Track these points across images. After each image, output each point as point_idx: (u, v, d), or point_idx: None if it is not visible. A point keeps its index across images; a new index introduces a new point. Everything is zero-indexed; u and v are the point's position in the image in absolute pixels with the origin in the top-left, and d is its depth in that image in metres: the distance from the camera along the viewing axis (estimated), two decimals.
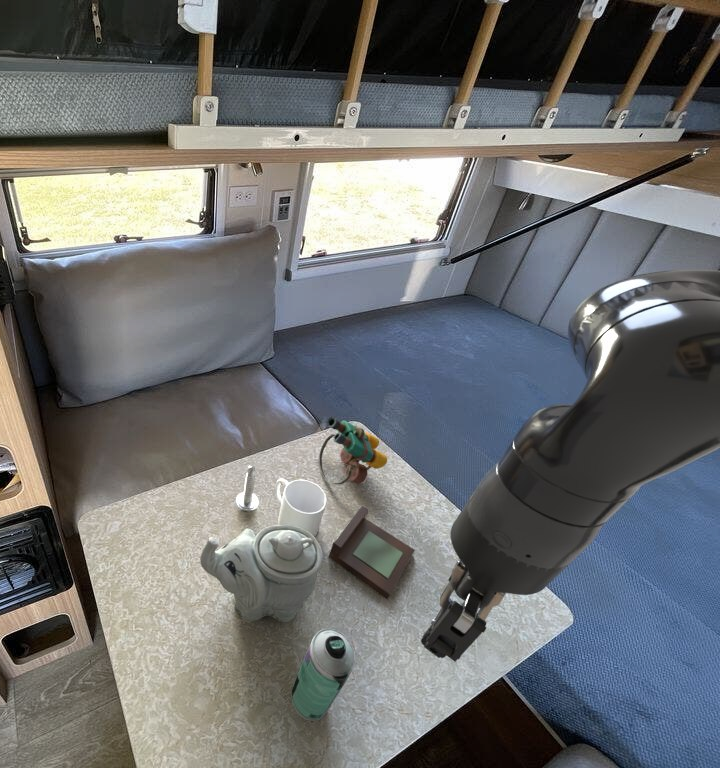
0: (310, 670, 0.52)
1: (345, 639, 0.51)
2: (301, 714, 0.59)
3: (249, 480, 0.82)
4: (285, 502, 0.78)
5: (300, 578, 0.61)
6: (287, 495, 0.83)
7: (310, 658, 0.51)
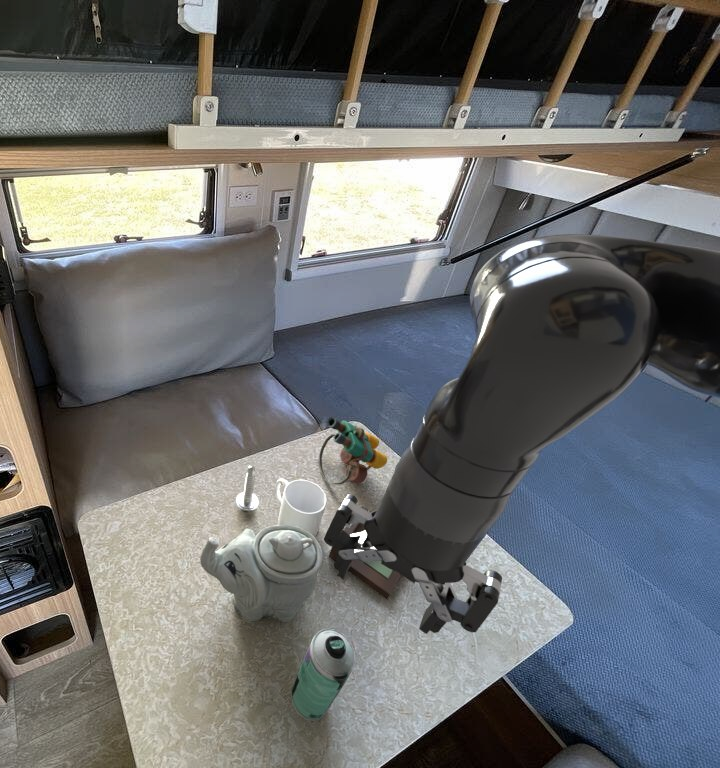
0: (310, 670, 0.52)
1: (345, 639, 0.51)
2: (301, 714, 0.59)
3: (249, 480, 0.82)
4: (285, 502, 0.78)
5: (300, 578, 0.61)
6: (287, 495, 0.83)
7: (310, 658, 0.51)
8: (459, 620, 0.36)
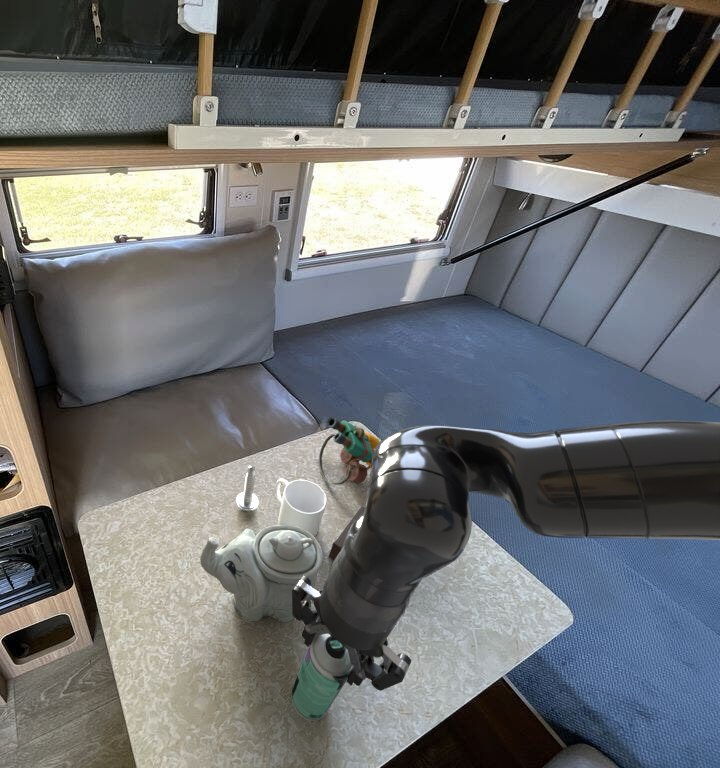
0: (310, 670, 0.52)
1: None
2: (301, 714, 0.59)
3: (249, 480, 0.82)
4: (285, 502, 0.78)
5: (300, 578, 0.61)
6: (287, 495, 0.83)
7: (310, 658, 0.51)
8: (372, 680, 0.46)
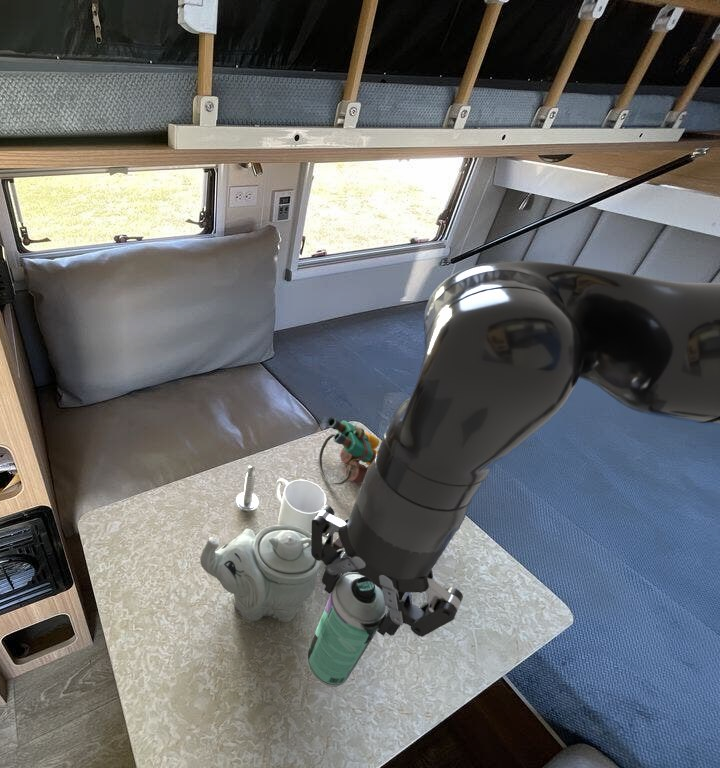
0: (332, 621, 0.43)
1: None
2: (319, 679, 0.51)
3: (249, 480, 0.82)
4: (285, 502, 0.78)
5: (300, 578, 0.61)
6: (287, 495, 0.83)
7: (332, 605, 0.43)
8: (411, 625, 0.38)
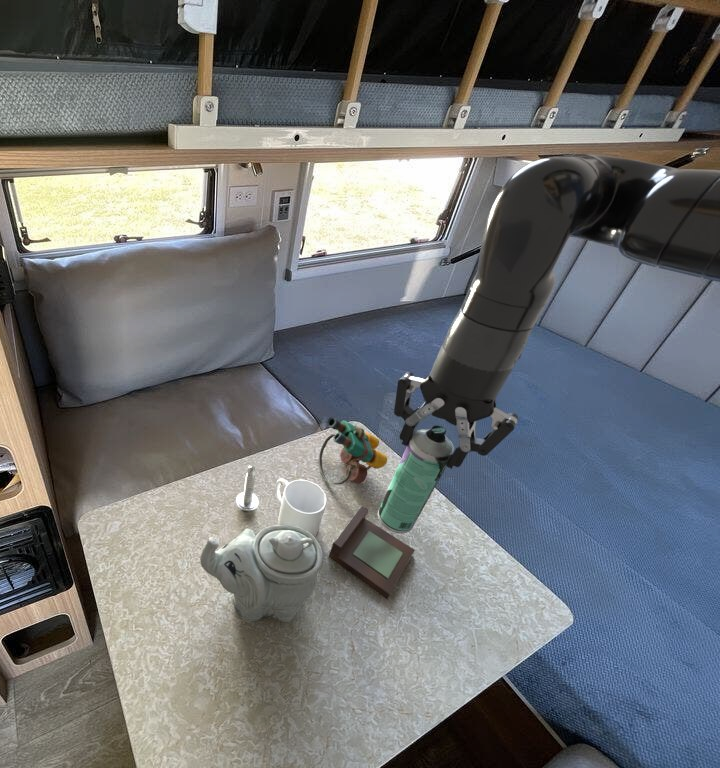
0: (409, 464, 0.57)
1: None
2: (390, 527, 0.64)
3: (249, 480, 0.82)
4: (285, 502, 0.78)
5: (300, 578, 0.61)
6: (287, 495, 0.83)
7: (410, 451, 0.56)
8: (476, 450, 0.51)
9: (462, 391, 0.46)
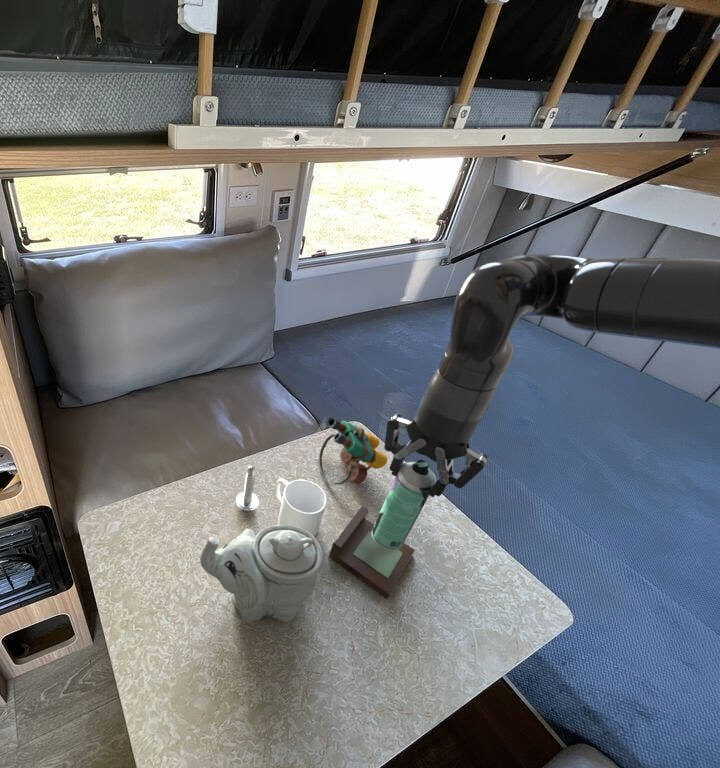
0: (398, 492, 0.65)
1: None
2: (382, 545, 0.72)
3: (249, 480, 0.82)
4: (285, 502, 0.78)
5: (300, 578, 0.61)
6: (287, 495, 0.83)
7: (398, 481, 0.65)
8: (453, 483, 0.60)
9: (439, 436, 0.55)
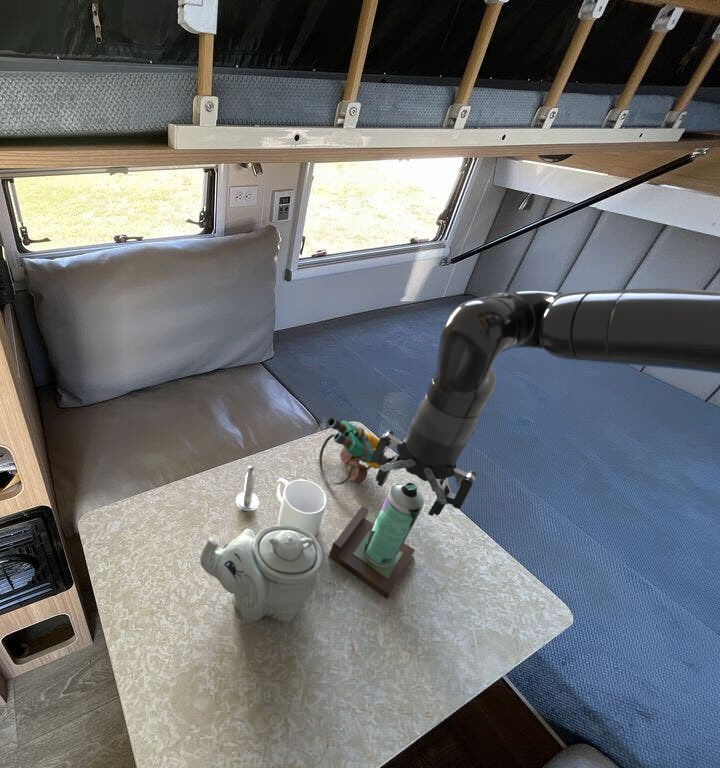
0: (388, 513, 0.69)
1: None
2: (374, 562, 0.76)
3: (249, 480, 0.82)
4: (285, 502, 0.78)
5: (300, 578, 0.61)
6: (287, 495, 0.83)
7: (389, 502, 0.68)
8: (452, 503, 0.62)
9: (427, 458, 0.58)
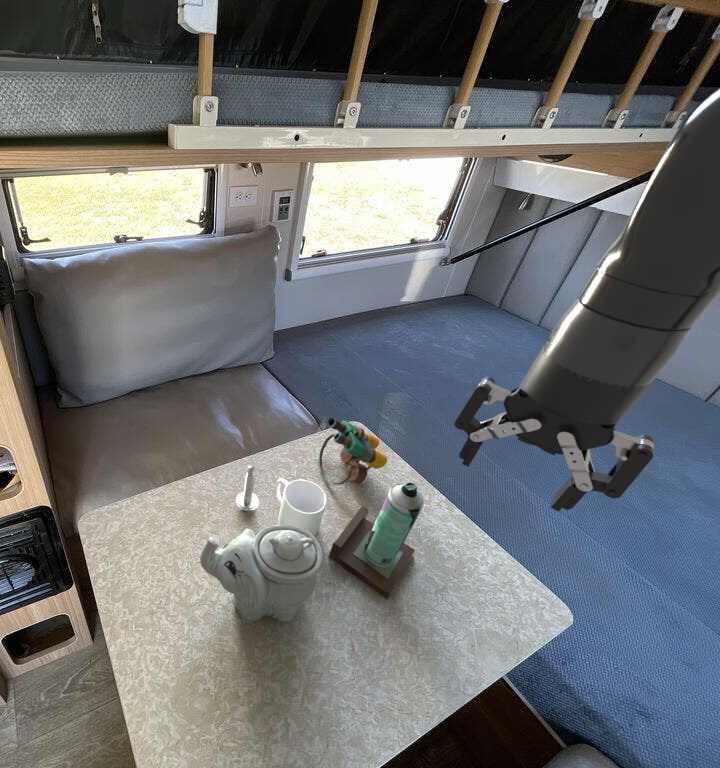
0: (388, 513, 0.69)
1: None
2: (374, 562, 0.76)
3: (249, 480, 0.82)
4: (285, 502, 0.78)
5: (300, 578, 0.61)
6: (287, 495, 0.83)
7: (389, 502, 0.68)
8: (601, 490, 0.38)
9: (576, 412, 0.34)
